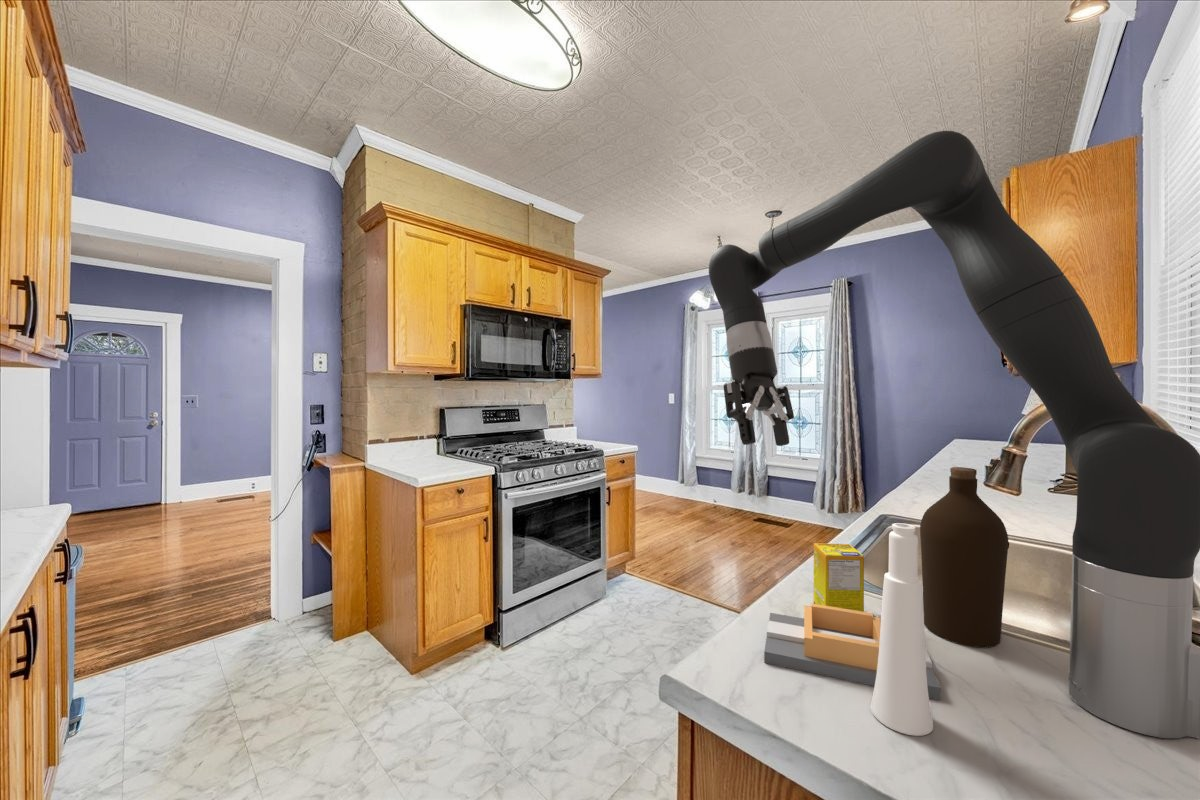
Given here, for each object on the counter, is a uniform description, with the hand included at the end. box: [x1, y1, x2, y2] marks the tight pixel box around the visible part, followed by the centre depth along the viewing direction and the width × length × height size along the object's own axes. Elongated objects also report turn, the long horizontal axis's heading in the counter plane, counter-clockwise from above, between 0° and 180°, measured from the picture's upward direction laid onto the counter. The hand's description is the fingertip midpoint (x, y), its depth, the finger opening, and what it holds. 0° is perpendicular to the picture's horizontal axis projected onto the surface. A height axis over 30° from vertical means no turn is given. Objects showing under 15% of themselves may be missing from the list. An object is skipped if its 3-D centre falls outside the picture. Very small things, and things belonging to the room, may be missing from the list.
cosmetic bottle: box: [870, 522, 934, 737], centre depth 54 cm, size 6×6×22 cm
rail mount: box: [763, 603, 942, 701], centre depth 66 cm, size 20×12×4 cm, turn 67°
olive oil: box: [919, 466, 1010, 649], centre depth 72 cm, size 11×11×25 cm
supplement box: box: [813, 542, 865, 612], centre depth 78 cm, size 6×6×11 cm
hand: (766, 444), depth 79 cm, fingers open, 8 cm apart
